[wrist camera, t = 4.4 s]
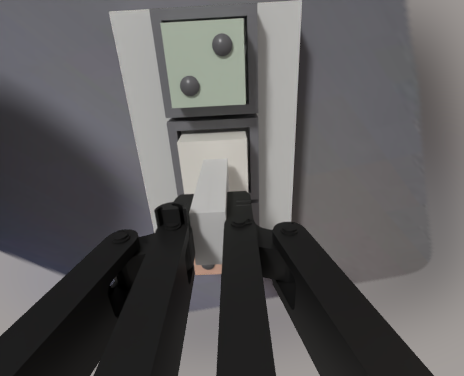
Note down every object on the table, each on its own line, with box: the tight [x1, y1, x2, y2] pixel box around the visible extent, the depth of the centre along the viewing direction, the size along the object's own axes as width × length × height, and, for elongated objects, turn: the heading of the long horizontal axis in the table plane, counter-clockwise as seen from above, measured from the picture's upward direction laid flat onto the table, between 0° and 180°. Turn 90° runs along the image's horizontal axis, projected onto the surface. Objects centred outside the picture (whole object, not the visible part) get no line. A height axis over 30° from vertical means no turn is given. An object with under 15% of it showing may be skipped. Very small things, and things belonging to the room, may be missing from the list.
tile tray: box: [109, 0, 302, 233], centre depth 22 cm, size 12×20×5 cm, turn 3°
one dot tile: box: [177, 131, 248, 194], centre depth 19 cm, size 4×4×2 cm
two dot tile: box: [160, 18, 246, 108], centre depth 16 cm, size 4×4×2 cm
